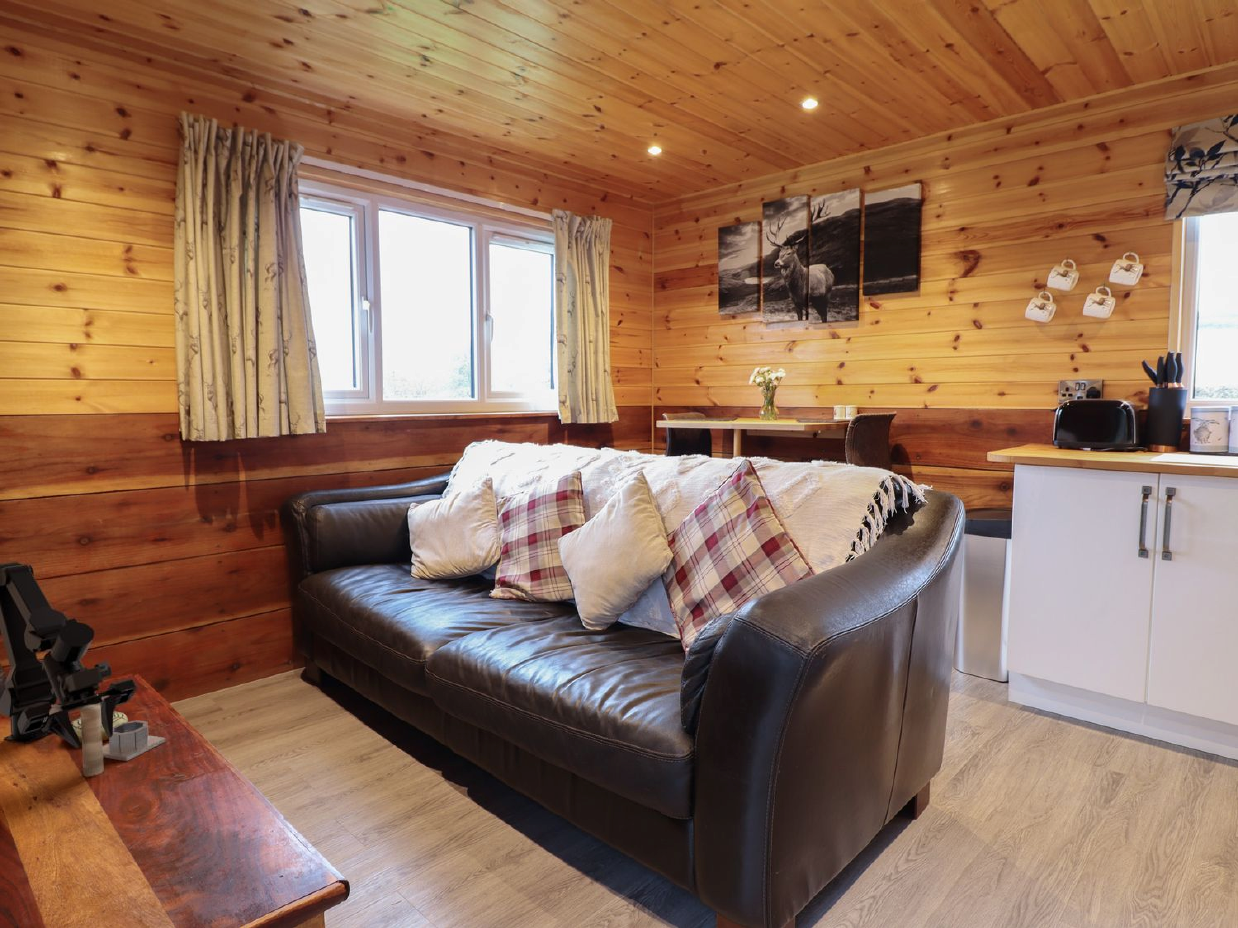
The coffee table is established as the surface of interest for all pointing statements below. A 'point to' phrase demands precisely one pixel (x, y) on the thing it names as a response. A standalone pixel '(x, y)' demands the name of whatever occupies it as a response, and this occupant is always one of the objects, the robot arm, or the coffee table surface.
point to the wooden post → (92, 740)
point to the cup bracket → (130, 741)
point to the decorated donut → (117, 719)
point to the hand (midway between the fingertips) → (95, 741)
